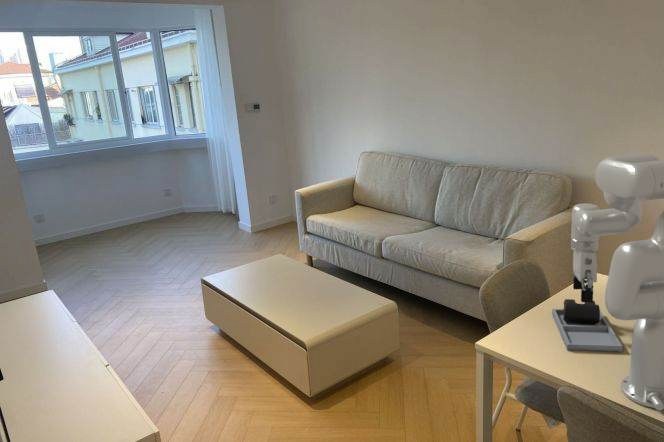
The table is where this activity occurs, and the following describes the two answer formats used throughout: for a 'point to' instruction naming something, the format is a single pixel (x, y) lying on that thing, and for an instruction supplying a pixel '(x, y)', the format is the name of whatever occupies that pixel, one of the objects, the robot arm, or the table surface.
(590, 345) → the divided grey tray
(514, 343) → the table surface
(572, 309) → the end cap
